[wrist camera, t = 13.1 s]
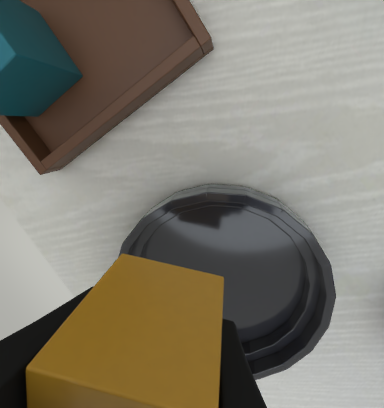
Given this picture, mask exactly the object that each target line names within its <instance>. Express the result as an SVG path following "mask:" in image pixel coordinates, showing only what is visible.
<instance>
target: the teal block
mask: <svg viewBox="0 0 384 408" xmlns="http://www.w3.org/2000/svg"><path fill="white" fill-rule="evenodd" d="M82 77H83V75H82V74H81V72H80V71H79V69H78V68H77V66H76V65H75V63H74V62H73V61H72V59H71V58H70V56H69V55H68V53H67V52H66V50H65V49H64V48H63V46H62V45H61V43H60V42H59V40H58V39H57V37H56V36H55V35H54V33H53V32H52V30H51V29H50V27H49V26H48V24H47V23H46V22H45V20H44V19H43V17H42V16H41V14H40V13H39V12H38V11H37V10H35V9H33V8H32V7H30V6H28V5H26V4H25V3H23V2H21V1H20V0H0V115H6V116H32V117H38V116H39V115H41V114H42V113H43V112H44V111H45V110H46V109H47V108H48V107H49V106H51V105H52V104H53V103H54V102H55V101H56V100H57V99H58V98H59V97H61V96H62V95H63V94H64V93H65V92H66V91H67V90H68V89H69V88H71V87H72V86H73V85H74V84H75V83H76V82H77V81H78V80H79V79H81V78H82Z"/></svg>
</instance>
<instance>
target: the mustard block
mask: <svg viewBox="0 0 384 408" xmlns="http://www.w3.org/2000/svg"><path fill="white" fill-rule="evenodd" d="M223 292H224V277H222V276H218V275H214V274H210V273H205V272H201V271H197V270H192V269H188V268H184V267H179V266H175V265H171V264H166V263H162V262H158V261H153V260H149V259H145V258H140V257H136V256H132V255H127V254H121V255H120V256H119V257H118V259H117V260H116V261H115V262H114V263H113V265H112V266H111V267H110V268H109V269H108V270H107V272H106V273H105V274H104V275H103V276H102V278H101V279H100V280H99V281H98V282H97V284H96V285H95V286H94V287H93V288H92V290H91V291H90V292H89V293H88V294H87V295H86V297H85V298H84V299H83V300H82V301H81V303H80V304H79V305H78V306H77V307H76V309H75V310H74V311H73V312H72V313H71V314H70V316H69V317H68V318H67V319H66V320H65V322H64V323H63V324H62V325H61V326H60V328H59V329H58V330H57V331H56V332H55V333H54V335H53V336H52V337H51V338H50V339H49V341H48V342H47V343H46V344H45V345H44V347H43V348H42V349H41V350H40V351H39V352H38V354H37V355H36V356H35V357H34V358H33V360H32V361H31V362H30V363H29V364H28V366H27V367H26V395H27V408H219V387H220V363H221V340H222V316H223Z"/></svg>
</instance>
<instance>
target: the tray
mask: <svg viewBox="0 0 384 408" xmlns="http://www.w3.org/2000/svg"><path fill="white" fill-rule="evenodd" d="M20 1H21V2H23V3H25V4H26V5H28V6H30V7H32V8H33V9H35V10H37V11H38V12H39V13H40V14H41V16H42V17H43V19H44V20H45V22H46V23H47V24H48V26H49V27H50V29H51V30H52V32H53V33H54V35H55V36H56V37H57V39H58V40H59V42H60V43H61V45H62V46H63V48H64V49H65V50H66V52H67V53H68V55H69V56H70V58H71V59H72V61H73V62H74V63H75V65H76V66H77V68H78V69H79V71H80V72H81V74H82V75H83V77H82V78H81V79H79V80H78V81H77V82H76V83H75V84H74V85H73V86H72V87H71V88H69V89H68V90H67V91H66V92H65V93H64V94H63V95H62V96H61V97H59V98H58V99H57V100H56V101H55V102H54V103H53V104H52V105H51V106H49V107H48V108H47V109H46V110H45V111H44V112H43V113H42V114H41V115H39V116H38V117H32V116H6V115H0V124H1V125H2V127H3V128H4V129H5V130H6V132H7V133H8V134H9V136H10V137H11V138H12V139H13V141H14V142H15V143H16V145H17V146H18V147H19V148H20V150H21V151H22V152H23V154H24V155H25V156H26V157H27V159H28V160H29V161H30V163H31V164H32V165H33V166H34V168H35V169H36V170H37V172H38V173H39V174H40V175H42V174H46V173H50V172H53V171H58V170H60V169H62V168H63V167H64V166H65V165H67V164H68V163H69V162H70V161H72V160H73V159H74V158H76V157H77V156H78V155H79V154H81V153H82V152H83V151H84V150H86V149H87V148H88V147H90V146H91V145H92V144H93V143H95V142H96V141H97V140H98V139H100V138H101V137H102V136H104V135H105V134H106V133H107V132H109V131H110V130H111V129H112V128H114V127H115V126H116V125H118V124H119V123H120V122H121V121H123V120H124V119H125V118H126V117H128V116H129V115H130V114H132V113H133V112H134V111H135V110H137V109H138V108H139V107H140V106H142V105H143V104H144V103H146V102H147V101H148V100H149V99H151V98H152V97H153V96H154V95H156V94H157V93H158V92H160V91H161V90H162V89H163V88H165V87H166V86H167V85H168V84H170V83H171V82H172V81H174V80H175V79H176V78H177V77H179V76H180V75H181V74H182V73H184V72H185V71H186V70H188V69H189V68H190V67H191V66H193V65H194V64H195V63H196V62H198V61H199V60H200V59H202V58H203V57H204V56H205V55H207V54H208V53H209V52H210V51H212V50H213V45H212V40H211V37H210V35H209V33H208V32H207V30H206V28H205V26H204V25H203V23H202V21H201V20H200V18H199V16H198V14H197V13H196V11H195V9H194V8H193V6H192V4H191V2H190V1H189V0H20Z"/></svg>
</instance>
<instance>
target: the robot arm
mask: <svg viewBox="0 0 384 408" xmlns="http://www.w3.org/2000/svg"><path fill="white" fill-rule="evenodd" d="M92 288H93V287H91V288H89V289H88V290H86V291H84V292H83V293H81V294H80V295H78V296H76V297H75V298H73V299H72V300H70V301H68V302H67V303H65V304H63V305H62V306H60V307H59V308H57V309H56V310H54V311H52V312H50V313H49V314H47V315H45V316H44V317H42V318H40V319H39V320H37V321H35V322H33V323H32V324H30V325H28V326H26V327H24V328H23V329H21V330H19V331H17V332H15V333H13V334H12V335H10V336H8V337H6V338H4V339H3V340H1V341H0V408H27V395H26V367H27V366H28V364H29V363H30V362H31V361H32V360H33V358H34V357H35V356H36V355H37V354H38V352H39V351H40V350H41V349H42V348H43V347H44V345H45V344H46V343H47V342H48V341H49V339H50V338H51V337H52V336H53V335H54V333H55V332H56V331H57V330H58V329H59V328H60V326H61V325H62V324H63V323H64V322H65V320H66V319H67V318H68V317H69V316H70V314H71V313H72V312H73V311H74V310H75V309H76V307H77V306H78V305H79V304H80V303H81V301H82V300H83V299H84V298H85V297H86V295H87V294H88V293H89V292H90V291H91V290H92ZM219 408H267V407H266V404H265V402H264V400H263V398H262V396H261V393H260V391H259V389H258V386H257V384H256V381H255V379H254V376H253V374H252V371H251V369H250V367H249V364H248V361H247V359H246V356H245V353H244V350H243V347H242V344H241V341H240V338H239V335H238V331H237V328H236V324H235V323H234V321H230V320H226V319H222V340H221V363H220V387H219Z"/></svg>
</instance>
